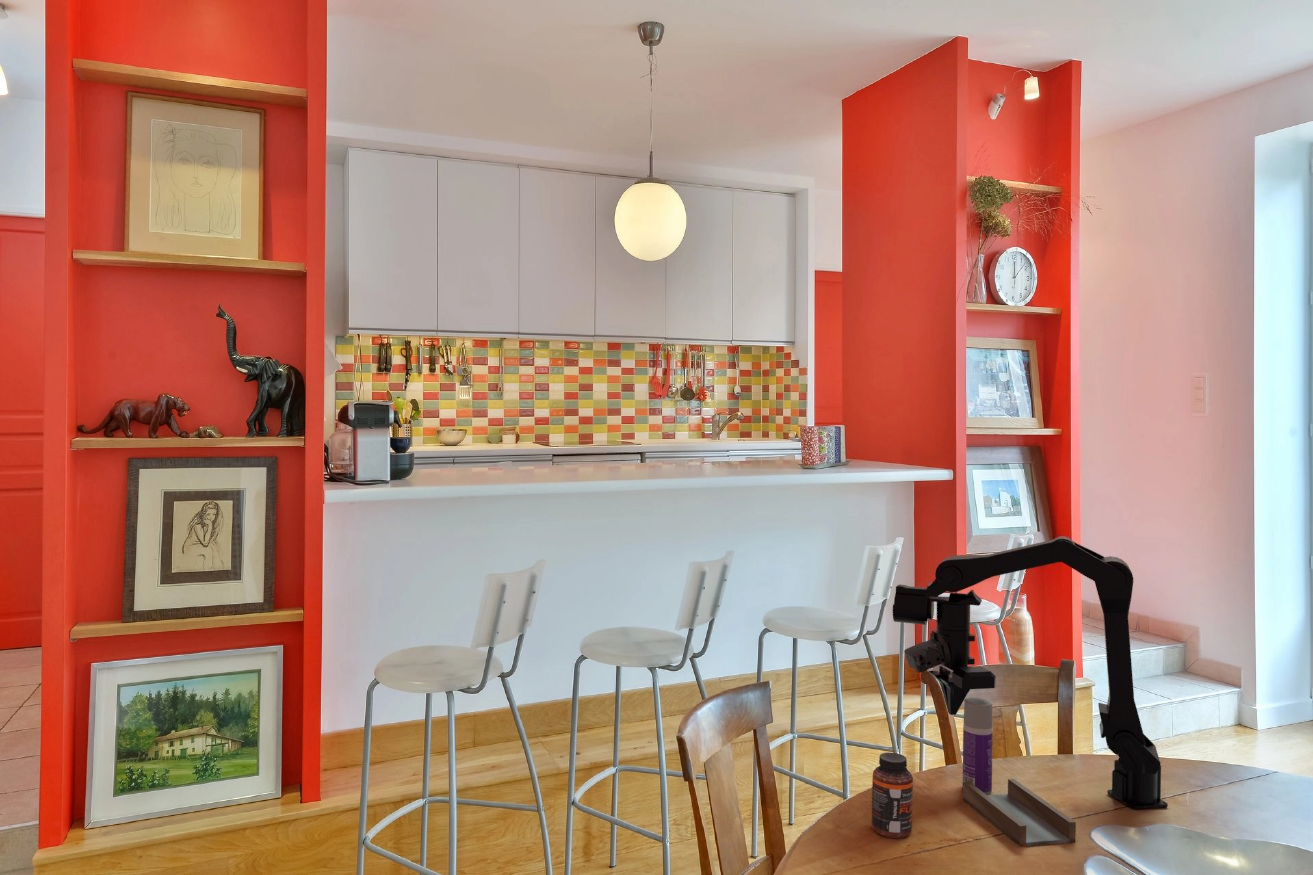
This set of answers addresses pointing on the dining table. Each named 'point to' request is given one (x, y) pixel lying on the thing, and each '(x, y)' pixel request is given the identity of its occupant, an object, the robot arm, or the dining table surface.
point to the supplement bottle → (892, 797)
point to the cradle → (1022, 815)
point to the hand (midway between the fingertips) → (952, 714)
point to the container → (978, 743)
